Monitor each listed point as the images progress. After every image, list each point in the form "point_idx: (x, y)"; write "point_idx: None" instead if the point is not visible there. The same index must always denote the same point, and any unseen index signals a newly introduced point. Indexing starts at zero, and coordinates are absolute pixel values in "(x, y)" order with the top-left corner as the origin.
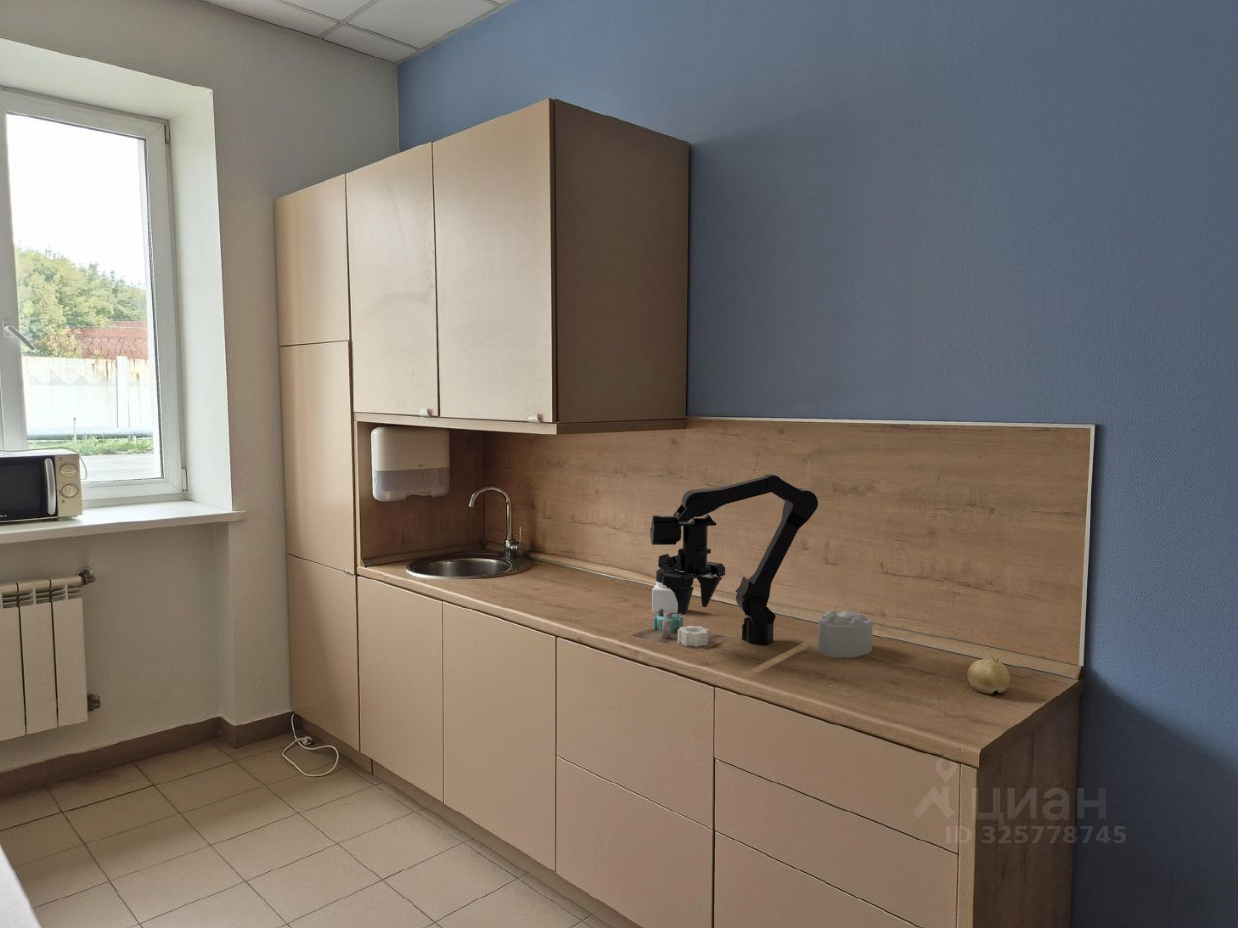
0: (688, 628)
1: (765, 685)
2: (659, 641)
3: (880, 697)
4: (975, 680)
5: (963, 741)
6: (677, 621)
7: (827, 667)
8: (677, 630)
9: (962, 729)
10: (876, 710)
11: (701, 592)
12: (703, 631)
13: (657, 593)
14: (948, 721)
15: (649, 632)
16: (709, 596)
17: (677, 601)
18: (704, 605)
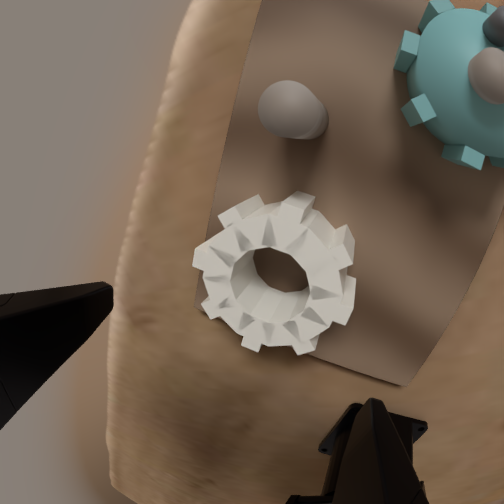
0: (291, 255)
1: (111, 408)
2: (233, 111)
3: (165, 493)
4: None
5: (117, 487)
6: (461, 145)
7: (249, 497)
8: (445, 146)
9: (137, 498)
10: (128, 475)
11: (377, 486)
12: (258, 335)
13: None
14: (145, 500)
15: (363, 17)
16: (333, 498)
17: (20, 295)
18: (359, 416)
